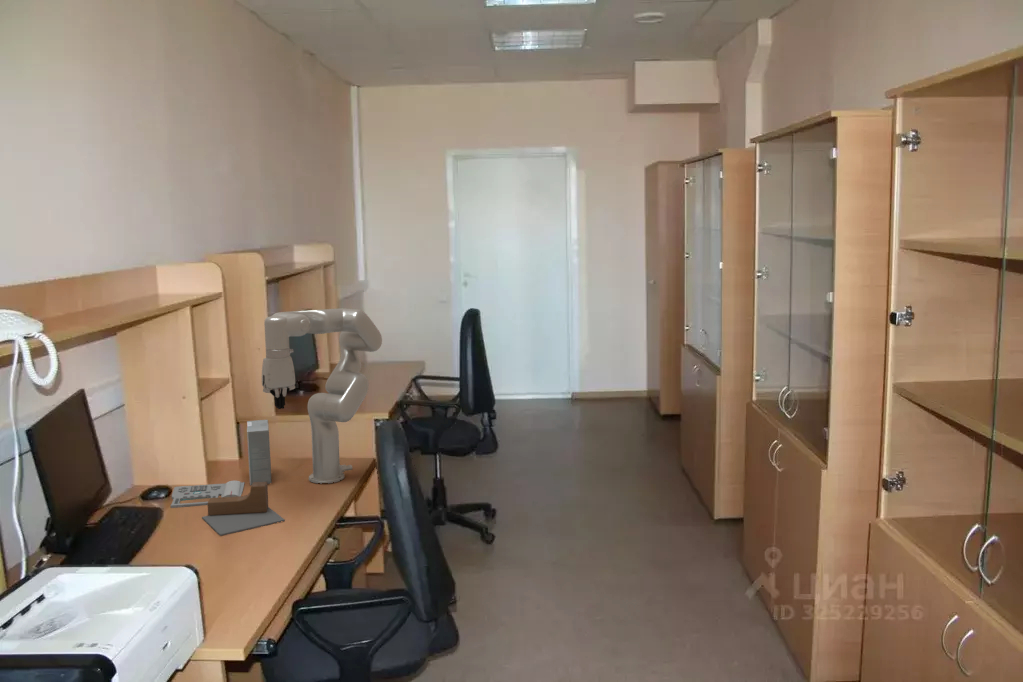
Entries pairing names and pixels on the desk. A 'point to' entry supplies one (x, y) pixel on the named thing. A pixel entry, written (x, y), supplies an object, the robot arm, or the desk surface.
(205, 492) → the office telephone
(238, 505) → the wooden block
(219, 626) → the desk surface
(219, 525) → the mat
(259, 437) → the hard drive box
